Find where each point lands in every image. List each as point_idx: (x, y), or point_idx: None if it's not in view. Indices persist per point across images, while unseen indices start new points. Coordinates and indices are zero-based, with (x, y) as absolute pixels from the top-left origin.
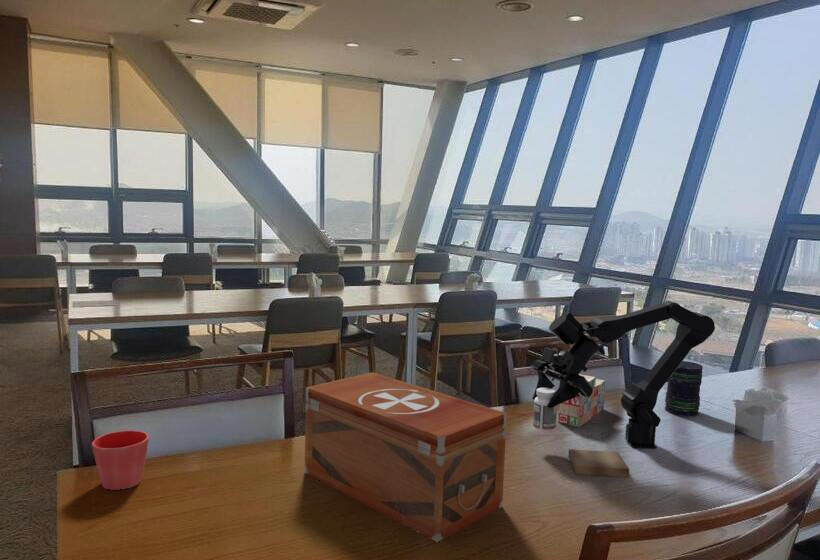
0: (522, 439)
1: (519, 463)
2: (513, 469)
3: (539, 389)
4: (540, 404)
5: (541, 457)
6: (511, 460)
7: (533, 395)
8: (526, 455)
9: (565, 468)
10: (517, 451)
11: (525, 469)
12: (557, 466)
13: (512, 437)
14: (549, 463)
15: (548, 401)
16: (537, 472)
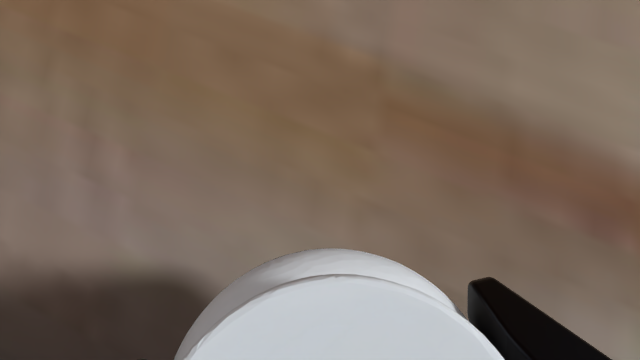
0: (498, 271)
1: (151, 108)
2: (85, 47)
3: (412, 356)
4: (230, 286)
5: (206, 270)
6: (198, 81)
7: (520, 297)
8: (250, 192)
9: (27, 346)
10: (315, 163)
11: (70, 109)
12: (65, 310)
13: (537, 220)
14: (115, 280)
15: None
16: (19, 158)
